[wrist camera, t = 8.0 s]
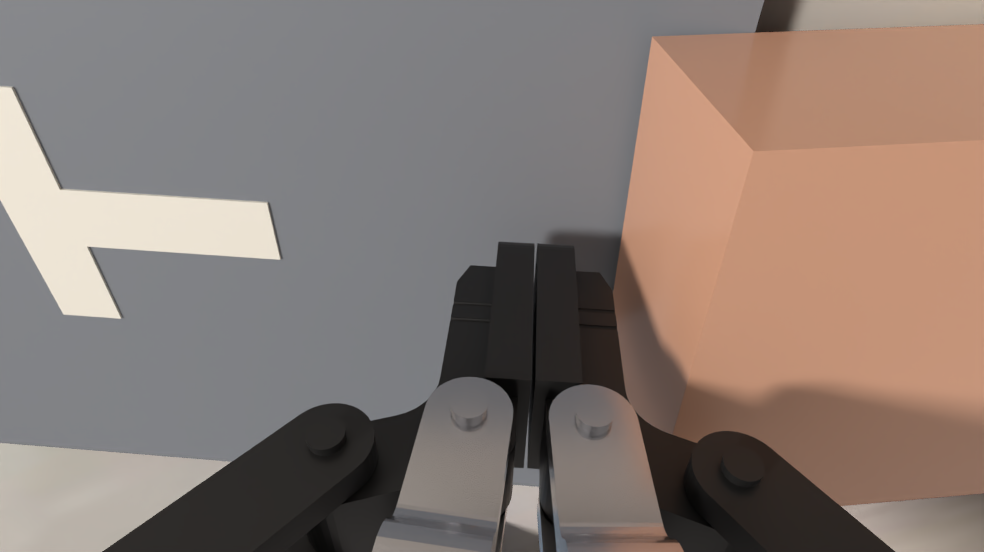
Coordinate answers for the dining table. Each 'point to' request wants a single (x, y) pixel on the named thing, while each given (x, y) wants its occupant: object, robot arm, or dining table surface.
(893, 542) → the dining table surface
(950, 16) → the dining table surface
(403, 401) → the letter board
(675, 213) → the terracotta block
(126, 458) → the dining table surface
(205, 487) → the robot arm
